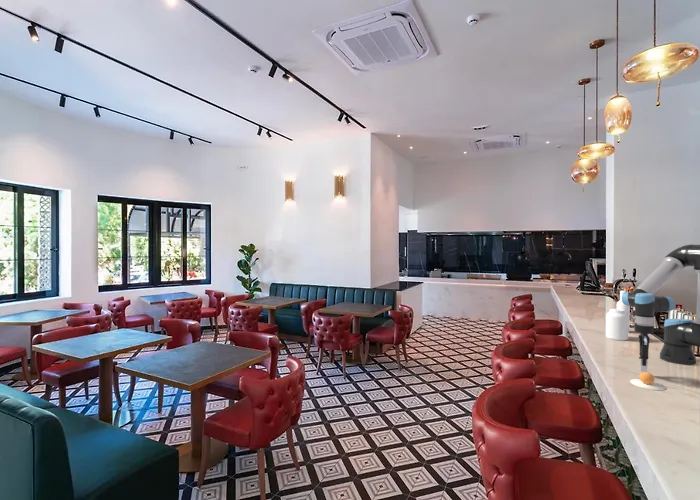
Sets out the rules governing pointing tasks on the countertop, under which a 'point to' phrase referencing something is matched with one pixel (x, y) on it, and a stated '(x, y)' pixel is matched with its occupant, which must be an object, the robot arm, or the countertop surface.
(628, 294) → the robot arm
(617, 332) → the white container
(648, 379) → the ball
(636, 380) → the white plate
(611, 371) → the countertop surface
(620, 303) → the bottle
